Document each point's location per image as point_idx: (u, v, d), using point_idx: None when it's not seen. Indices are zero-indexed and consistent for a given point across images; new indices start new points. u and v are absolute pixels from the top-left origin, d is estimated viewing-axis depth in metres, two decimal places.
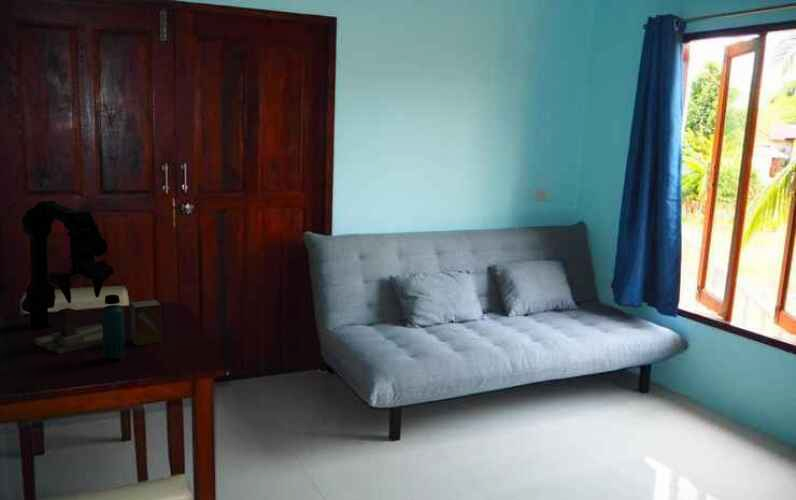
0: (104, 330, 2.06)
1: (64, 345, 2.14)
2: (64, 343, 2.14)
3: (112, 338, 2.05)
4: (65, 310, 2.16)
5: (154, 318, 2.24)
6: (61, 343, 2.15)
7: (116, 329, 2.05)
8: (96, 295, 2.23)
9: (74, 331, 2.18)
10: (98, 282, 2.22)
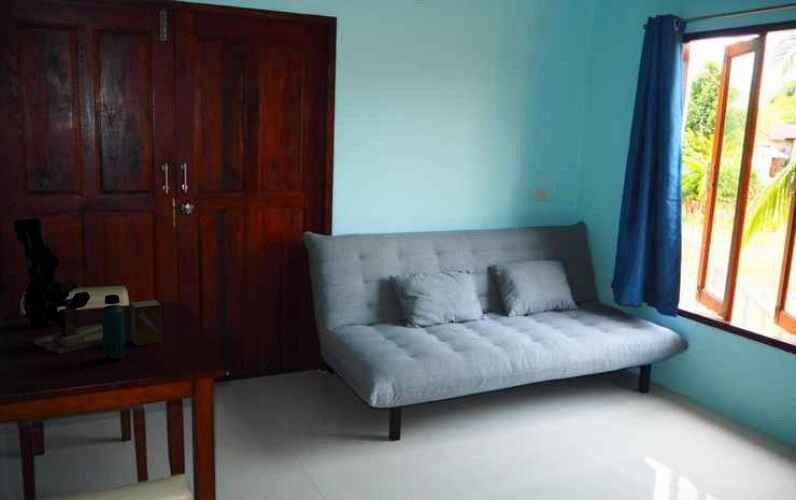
0: (104, 330, 2.06)
1: (64, 345, 2.14)
2: (64, 343, 2.14)
3: (112, 338, 2.05)
4: (65, 310, 2.16)
5: (154, 318, 2.24)
6: (61, 343, 2.15)
7: (116, 329, 2.05)
8: None
9: (74, 331, 2.18)
10: None
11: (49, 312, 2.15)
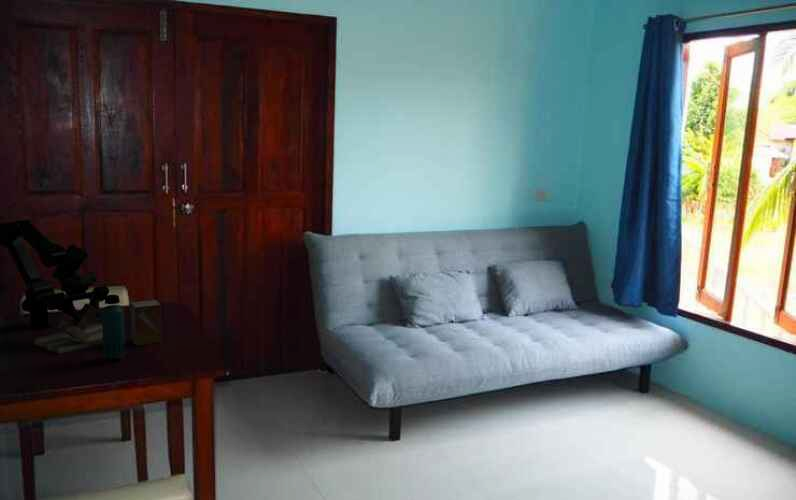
0: (104, 330, 2.06)
1: (70, 332, 2.15)
2: (71, 329, 2.15)
3: (112, 338, 2.05)
4: (91, 306, 2.22)
5: (154, 318, 2.24)
6: (68, 329, 2.16)
7: (116, 329, 2.05)
8: (97, 314, 2.23)
9: (84, 328, 2.20)
10: (94, 302, 2.25)
11: (65, 305, 2.19)
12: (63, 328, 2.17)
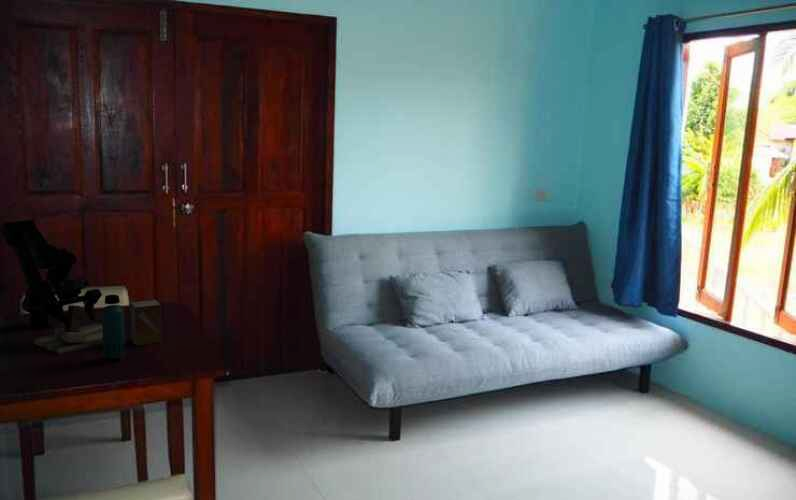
0: (104, 330, 2.06)
1: (66, 340, 2.15)
2: (66, 337, 2.15)
3: (112, 338, 2.05)
4: (75, 306, 2.18)
5: (154, 318, 2.24)
6: (63, 338, 2.16)
7: (116, 329, 2.05)
8: (92, 318, 2.23)
9: (78, 329, 2.19)
10: (89, 306, 2.24)
11: (54, 310, 2.17)
12: (59, 337, 2.17)
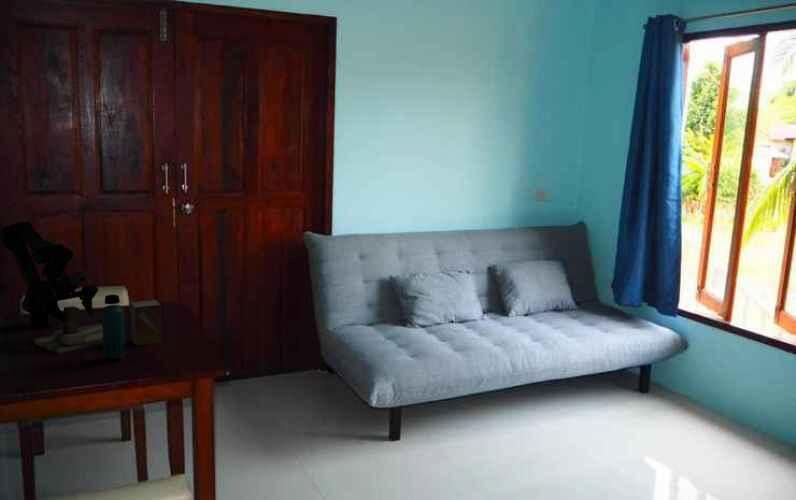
0: (104, 330, 2.06)
1: (65, 342, 2.15)
2: (65, 340, 2.15)
3: (112, 338, 2.05)
4: (70, 308, 2.17)
5: (154, 318, 2.24)
6: (62, 340, 2.16)
7: (116, 329, 2.05)
8: (90, 313, 2.24)
9: (76, 330, 2.19)
10: (87, 301, 2.25)
11: (49, 306, 2.17)
12: (58, 339, 2.17)
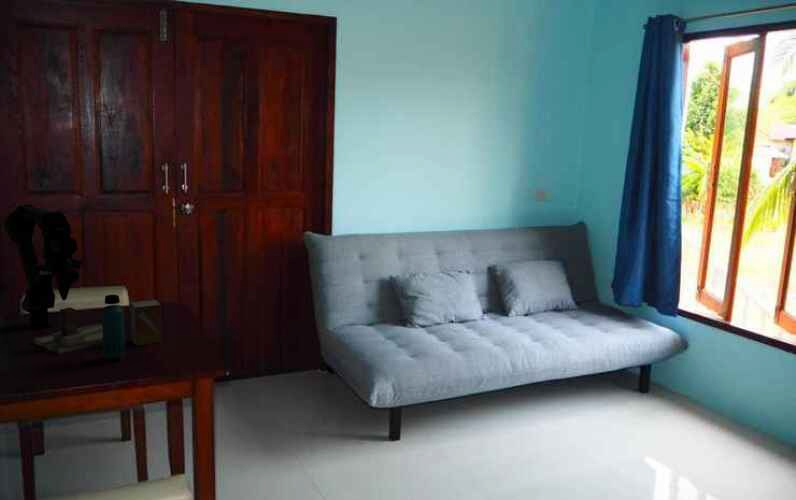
0: (104, 330, 2.06)
1: (65, 344, 2.15)
2: (64, 342, 2.15)
3: (112, 338, 2.05)
4: (66, 310, 2.16)
5: (154, 318, 2.24)
6: (62, 342, 2.16)
7: (116, 329, 2.05)
8: (49, 293, 2.29)
9: (75, 331, 2.18)
10: (50, 279, 2.29)
11: None
12: (58, 341, 2.17)
